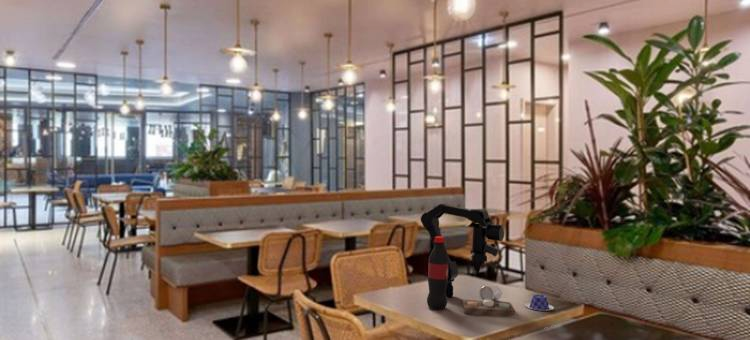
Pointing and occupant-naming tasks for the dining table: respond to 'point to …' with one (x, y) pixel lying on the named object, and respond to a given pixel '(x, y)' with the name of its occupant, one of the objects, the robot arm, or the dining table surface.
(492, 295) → the beer glass
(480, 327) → the dining table surface
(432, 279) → the cola bottle
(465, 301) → the button panel
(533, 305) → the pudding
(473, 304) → the brown rounded piece
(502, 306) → the green button
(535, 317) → the dining table surface
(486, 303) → the cream button
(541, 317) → the dining table surface
